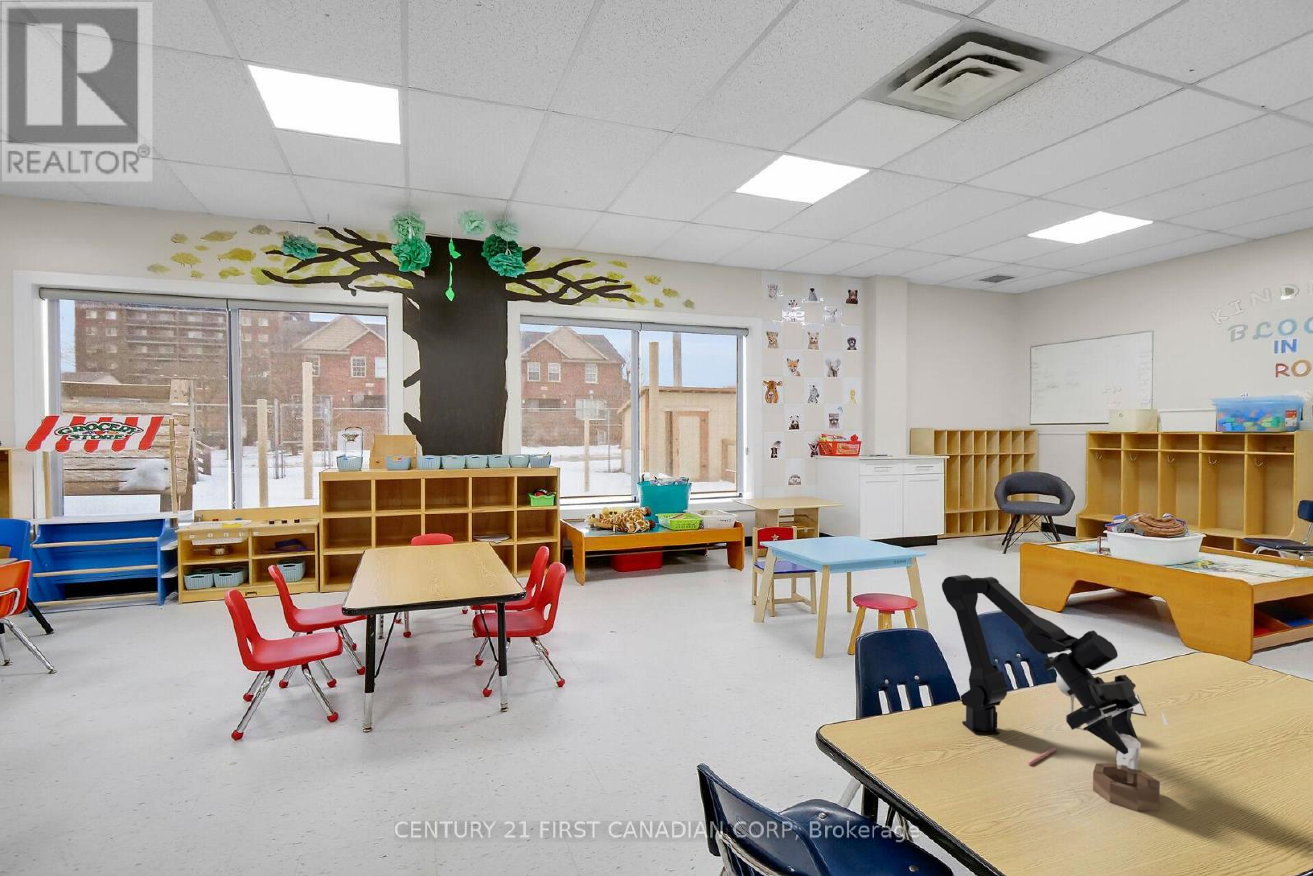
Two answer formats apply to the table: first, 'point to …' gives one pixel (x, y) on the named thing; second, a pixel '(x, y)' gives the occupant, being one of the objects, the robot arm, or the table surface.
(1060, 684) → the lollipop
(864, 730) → the table surface
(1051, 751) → the pink rod
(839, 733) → the table surface
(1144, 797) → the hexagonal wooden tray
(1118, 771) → the milkshake
